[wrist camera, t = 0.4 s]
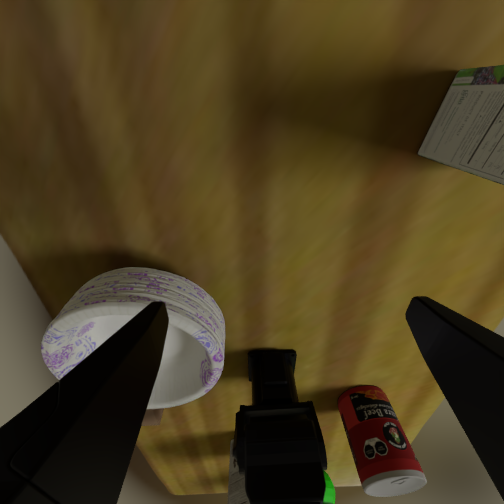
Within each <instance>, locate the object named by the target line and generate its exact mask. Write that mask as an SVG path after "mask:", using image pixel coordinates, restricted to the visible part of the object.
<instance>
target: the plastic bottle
mask: <svg viewBox="0 0 504 504" xmlns="http://www.w3.org/2000/svg"><path fill="white" fill-rule="evenodd" d="M323 471H324V470H323ZM324 477H325V482H326V491H325V495H324V500H323V504H335V489H334V485H333V483H332V481H331V479H330V477H329V475H328V474H327V473H326V472H325V471H324Z"/></svg>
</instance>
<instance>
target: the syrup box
mask: <svg viewBox="0 0 504 504" xmlns="http://www.w3.org/2000/svg"><path fill="white" fill-rule="evenodd" d="M418 155H419V156H422V157H426V158H428V159H431V160H434V161H436V162H439V163H442V164H445V165H448V166H451V167H454V168H456V169H459V170H462V171H465V172H468V173H470V174H473V175H476V176H479V177H482V178H485V179H488V180H491V181H494V182H497V183H500V184H503V185H504V65H499V66H490V67H480V68H471V69H461V70H460V71H459V72H458V73H457V74H456V76H455V78H454V80H453V82H452V84H451V86H450V88H449V90H448V92H447V94H446V96H445V98H444V100H443V102H442V104H441V106H440V108H439V110H438V112H437V114H436V116H435V119H434V121H433V122H432V124H431V127H430V129H429V131H428V133H427V135H426V137H425V139H424V141H423V143H422V145H421V147H420V149H419V151H418Z"/></svg>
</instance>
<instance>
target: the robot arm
mask: <svg viewBox="0 0 504 504" xmlns="http://www.w3.org/2000/svg"><path fill="white" fill-rule="evenodd" d="M406 320H407V322H408V325H409V327H410V329H411V331H412V334H413V336H414V338H415V340H416V343H417V345H418V347H419V349H420V352H421V354H422V356H423V358H424V360H425V362H426V364H427V366H428V367H429V369H430V371H431V373H432V374H433V376H434V378H435V380H436V382H437V383H438V385H439V387H440V389H441V390H442V392H443V394H444V396H445V398H446V399H447V401H448V403H449V405H450V406H451V408H452V410H453V412H454V413H455V415H456V417H457V419H458V421H459V422H460V424H461V426H462V428H463V429H464V431H465V433H466V435H467V437H468V438H469V440H470V442H471V444H472V445H473V447H474V449H475V451H476V453H477V454H478V456H479V458H480V460H481V461H482V463H483V465H484V467H485V468H486V470H487V472H488V474H489V476H490V477H491V479H492V481H493V483H494V484H495V486H496V488H497V490H498V492H499V493H500V495H501V497H502V499H503V501H504V337H502V336H500V335H498V334H496V333H494V332H493V331H491V330H489V329H487V328H485V327H483V326H481V325H479V324H477V323H476V322H474V321H472V320H470V319H468V318H466V317H464V316H462V315H461V314H459V313H457V312H455V311H453V310H451V309H449V308H447V307H445V306H444V305H442V304H440V303H438V302H436V301H434V300H432V299H430V298H429V297H426V296H416V297H413V298H412V300H411V302H410V304H409V306H408V309H407V311H406ZM168 325H169V317H168V313H167V309H166V305H165V303H164V302H163V301H153V302H151V303H150V304H148V305H147V306H146V307H145V308H144V309H143V310H141V311H140V312H139V313H138V314H137V315H135V316H134V317H133V318H132V319H131V320H130V321H128V322H127V323H126V324H125V325H124V326H122V327H121V328H120V329H119V330H118V331H117V332H115V333H114V334H113V335H112V336H111V337H109V338H108V339H107V340H106V341H105V342H104V343H102V344H101V345H100V346H99V347H98V348H96V349H95V350H94V351H93V352H92V353H91V354H89V355H88V356H87V357H86V358H85V359H83V360H82V361H81V362H80V363H79V364H78V365H76V366H75V367H74V368H73V369H72V370H70V371H69V372H68V373H67V374H66V375H65V376H63V377H62V378H61V379H60V380H59V382H56V383H55V384H54V385H53V386H52V387H50V388H49V389H48V390H47V391H46V392H44V393H43V394H42V395H41V396H40V397H38V398H37V399H36V400H35V401H33V402H32V403H31V404H30V405H29V406H27V407H26V408H25V409H24V410H22V411H21V412H20V413H19V414H17V415H16V416H15V417H13V418H12V419H11V420H10V421H9V422H7V423H6V424H4V425H3V426H2V427H0V504H117V501H118V498H119V495H120V492H121V488H122V485H123V482H124V479H125V476H126V472H127V469H128V466H129V463H130V460H131V457H132V453H133V450H134V447H135V444H136V441H137V438H138V435H139V431H140V428H141V425H142V422H143V419H144V416H145V413H146V409H147V406H148V403H149V400H150V397H151V394H152V390H153V387H154V384H155V381H156V378H157V375H158V371H159V368H160V364H161V360H162V355H163V350H164V345H165V340H166V335H167V330H168ZM296 356H297V354H296V351H294V350H287V351H253V352H249V353H248V370H249V381H251V382H252V405H250V406H245V405H240V411H239V412H237V413H236V425H235V435H234V443H233V451H232V454H233V457H234V458H235V459H236V461H237V466H238V467H239V475H245V492H246V495H247V498H248V501H249V504H323V500H324V495H325V491H326V482H325V477H324V471H323V470H327V457H326V450H325V445H324V440H323V436H322V432H321V429H320V425H319V422H318V419H317V416H316V412H315V409H314V406H313V402H312V401H307V402H299V401H298V396H297V390H296V385H295V379H294V370H295V363H296Z"/></svg>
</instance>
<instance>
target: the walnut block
mask: <svg viewBox="0 0 504 504" xmlns="http://www.w3.org/2000/svg"><path fill="white" fill-rule="evenodd" d="M163 410H164V408H159V409H146V413H145V416H144V419H143V422H142V425H141V426H145V425H160V421H161V417H162V413H163Z"/></svg>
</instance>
